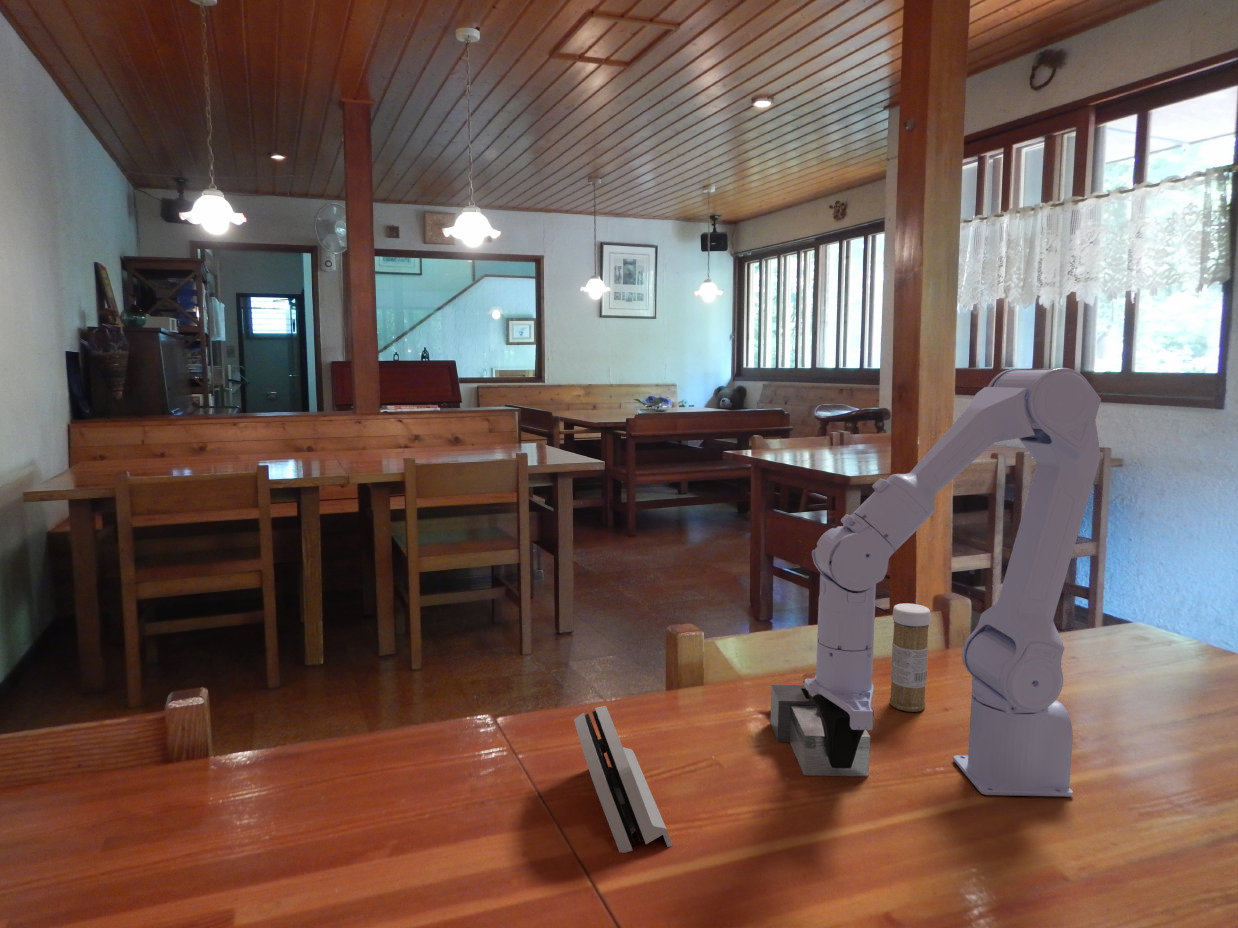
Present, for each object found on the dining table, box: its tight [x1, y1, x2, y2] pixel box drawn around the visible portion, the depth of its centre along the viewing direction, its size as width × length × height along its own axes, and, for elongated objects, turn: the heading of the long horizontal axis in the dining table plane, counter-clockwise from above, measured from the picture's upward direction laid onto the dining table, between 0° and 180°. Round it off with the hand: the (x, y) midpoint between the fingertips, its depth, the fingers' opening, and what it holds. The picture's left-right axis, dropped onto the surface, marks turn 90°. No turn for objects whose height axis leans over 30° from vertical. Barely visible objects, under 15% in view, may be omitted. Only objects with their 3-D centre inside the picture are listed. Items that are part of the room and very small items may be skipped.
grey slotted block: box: [574, 705, 673, 854], centre depth 80 cm, size 17×5×10 cm, turn 10°
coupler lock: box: [789, 706, 871, 777], centre depth 91 cm, size 8×7×5 cm
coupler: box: [770, 684, 816, 743], centre depth 98 cm, size 15×10×5 cm
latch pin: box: [802, 672, 819, 699], centre depth 97 cm, size 3×3×4 cm
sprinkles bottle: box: [889, 602, 931, 713], centre depth 105 cm, size 5×5×13 cm
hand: (840, 765), depth 85 cm, fingers closed
